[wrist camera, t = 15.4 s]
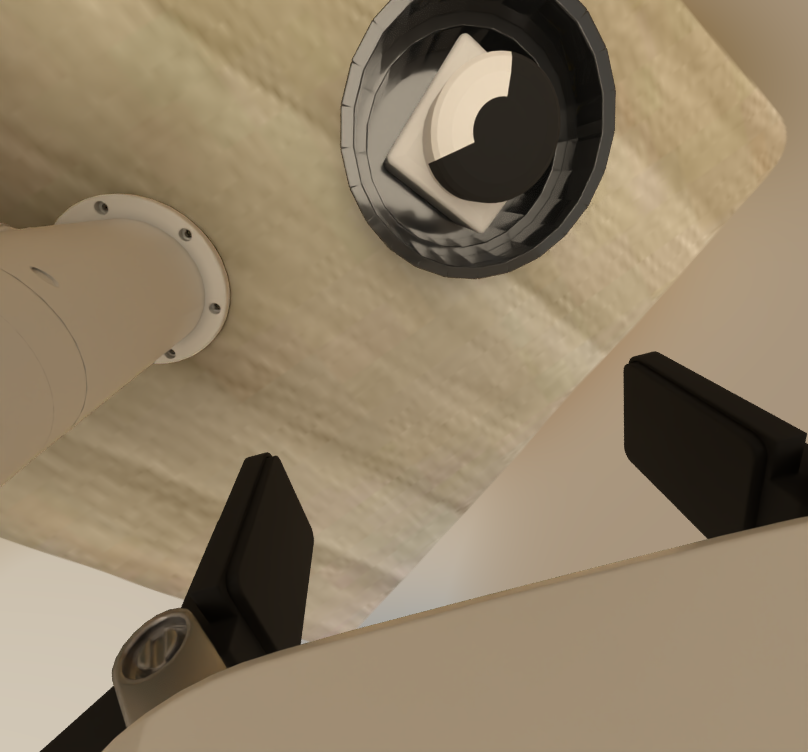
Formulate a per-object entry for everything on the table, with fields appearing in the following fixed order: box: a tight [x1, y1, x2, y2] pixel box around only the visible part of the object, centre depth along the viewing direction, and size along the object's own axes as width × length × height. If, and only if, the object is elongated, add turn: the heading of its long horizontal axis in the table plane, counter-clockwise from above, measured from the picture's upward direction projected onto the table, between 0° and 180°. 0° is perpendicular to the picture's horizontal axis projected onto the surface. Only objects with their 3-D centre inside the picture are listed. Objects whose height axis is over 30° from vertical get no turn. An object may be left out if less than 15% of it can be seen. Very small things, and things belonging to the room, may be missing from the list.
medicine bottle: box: [383, 33, 561, 233], centre depth 24 cm, size 7×7×12 cm
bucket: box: [340, 0, 616, 279], centre depth 26 cm, size 14×14×9 cm
